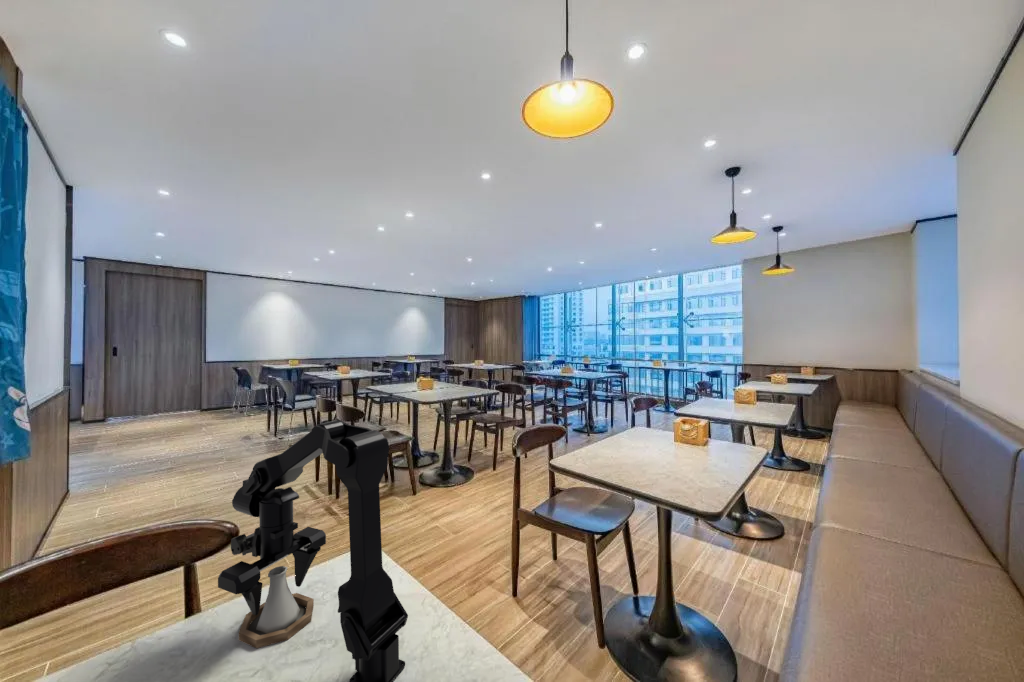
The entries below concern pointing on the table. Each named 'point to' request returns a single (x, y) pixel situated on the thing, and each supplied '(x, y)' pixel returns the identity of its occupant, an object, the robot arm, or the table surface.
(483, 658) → the table surface
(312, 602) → the brown octagonal tray
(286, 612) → the flask
